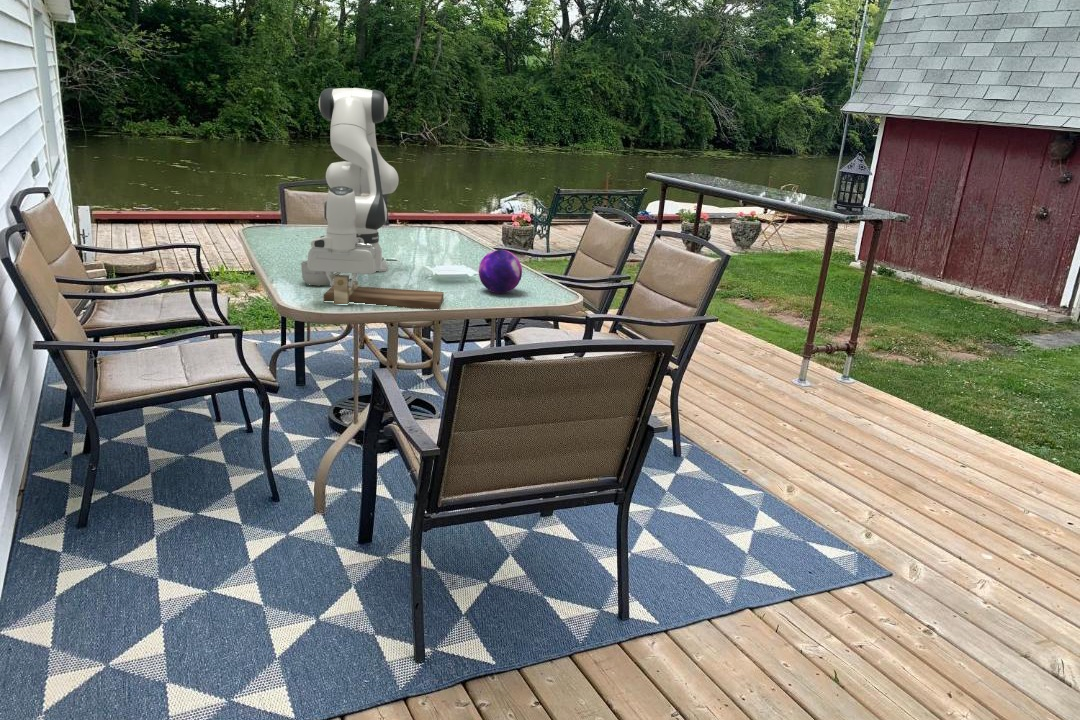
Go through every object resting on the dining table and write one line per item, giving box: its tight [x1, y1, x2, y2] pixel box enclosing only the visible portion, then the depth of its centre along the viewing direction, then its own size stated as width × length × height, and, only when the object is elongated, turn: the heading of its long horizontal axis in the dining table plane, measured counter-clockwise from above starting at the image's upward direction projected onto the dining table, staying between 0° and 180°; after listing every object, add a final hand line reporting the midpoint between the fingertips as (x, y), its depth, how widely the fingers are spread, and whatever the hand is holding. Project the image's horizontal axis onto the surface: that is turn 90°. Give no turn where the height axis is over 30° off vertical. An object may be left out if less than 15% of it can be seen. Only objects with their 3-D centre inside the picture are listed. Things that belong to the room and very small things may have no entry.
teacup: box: [300, 260, 341, 287], centre depth 273 cm, size 14×11×8 cm
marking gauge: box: [333, 274, 359, 305], centre depth 255 cm, size 17×4×9 cm, turn 1°
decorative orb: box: [478, 249, 523, 294], centre depth 279 cm, size 15×15×15 cm
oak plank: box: [323, 286, 445, 311], centre depth 259 cm, size 14×36×2 cm, turn 91°
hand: (341, 286), depth 248 cm, fingers closed on marking gauge, 4 cm apart
